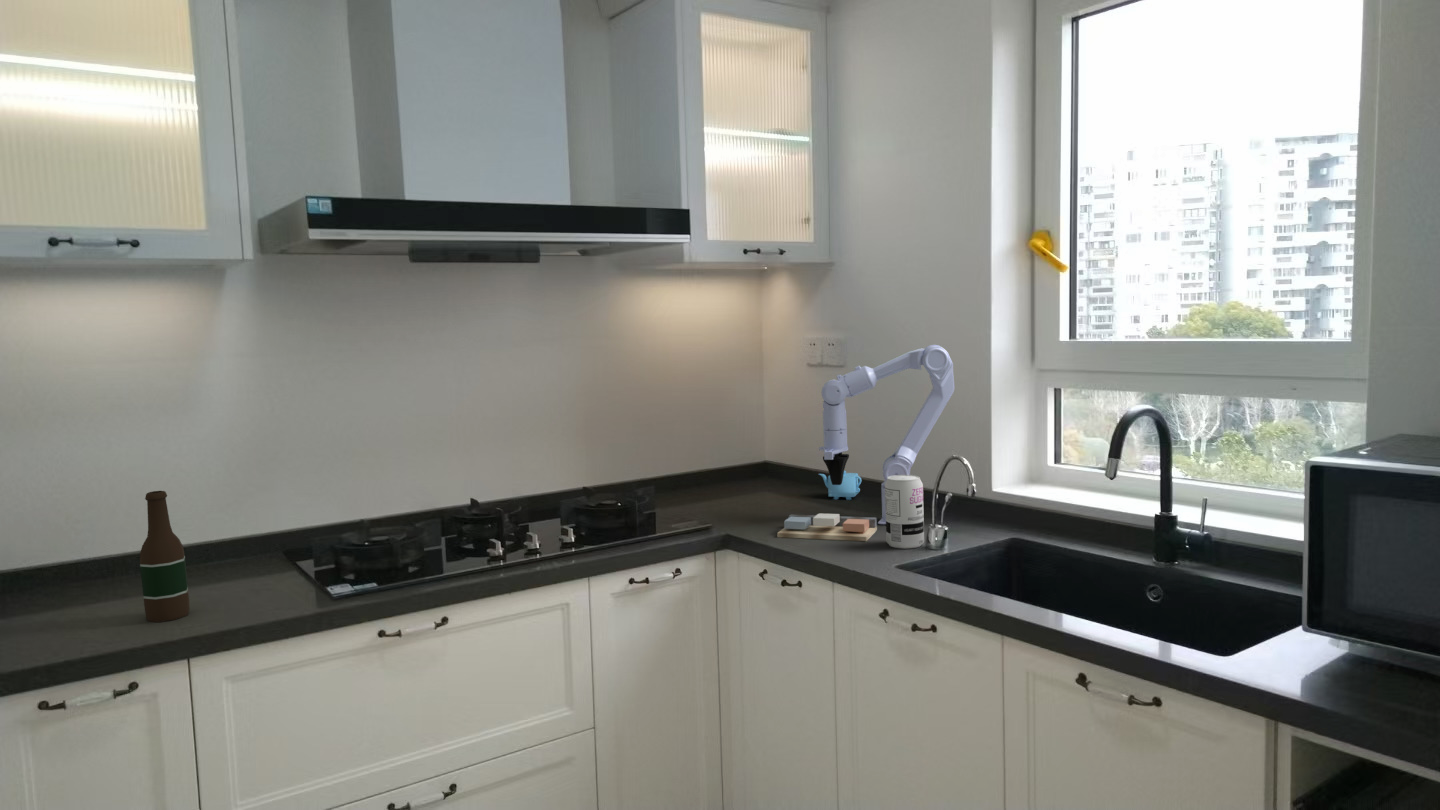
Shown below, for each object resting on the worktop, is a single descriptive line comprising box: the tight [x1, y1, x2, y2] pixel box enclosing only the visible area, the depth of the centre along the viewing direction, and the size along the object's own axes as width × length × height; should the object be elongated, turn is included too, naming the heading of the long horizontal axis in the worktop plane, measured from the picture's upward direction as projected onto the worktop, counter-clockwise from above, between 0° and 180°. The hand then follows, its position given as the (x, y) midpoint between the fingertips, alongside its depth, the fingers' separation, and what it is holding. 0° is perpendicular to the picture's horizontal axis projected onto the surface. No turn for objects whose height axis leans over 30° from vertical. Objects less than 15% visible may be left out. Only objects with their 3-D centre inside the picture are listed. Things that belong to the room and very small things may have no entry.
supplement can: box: [885, 474, 925, 550], centre depth 219 cm, size 8×8×15 cm
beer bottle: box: [139, 490, 190, 623], centre depth 189 cm, size 8×8×24 cm
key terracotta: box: [843, 519, 869, 532], centre depth 230 cm, size 5×5×2 cm
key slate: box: [783, 517, 811, 530], centre depth 235 cm, size 5×5×2 cm
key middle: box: [813, 512, 840, 526], centre depth 232 cm, size 5×5×2 cm
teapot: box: [818, 470, 863, 501], centre depth 275 cm, size 12×6×8 cm, turn 72°
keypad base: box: [776, 513, 878, 542], centre depth 233 cm, size 21×11×3 cm, turn 69°
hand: (836, 484), depth 244 cm, fingers closed
